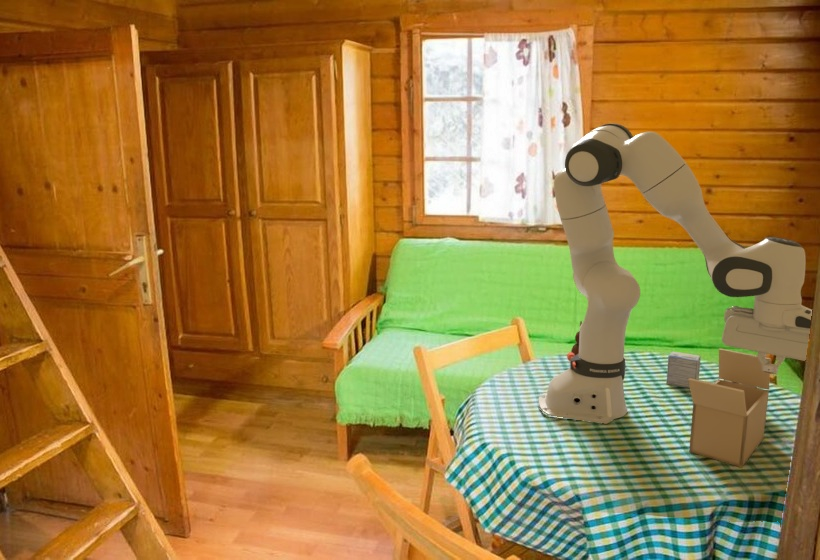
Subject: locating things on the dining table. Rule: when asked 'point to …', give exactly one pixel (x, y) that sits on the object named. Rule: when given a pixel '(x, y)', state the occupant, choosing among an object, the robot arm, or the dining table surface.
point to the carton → (730, 428)
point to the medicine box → (682, 368)
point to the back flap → (742, 368)
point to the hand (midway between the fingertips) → (769, 372)
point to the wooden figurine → (576, 347)
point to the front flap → (718, 397)
